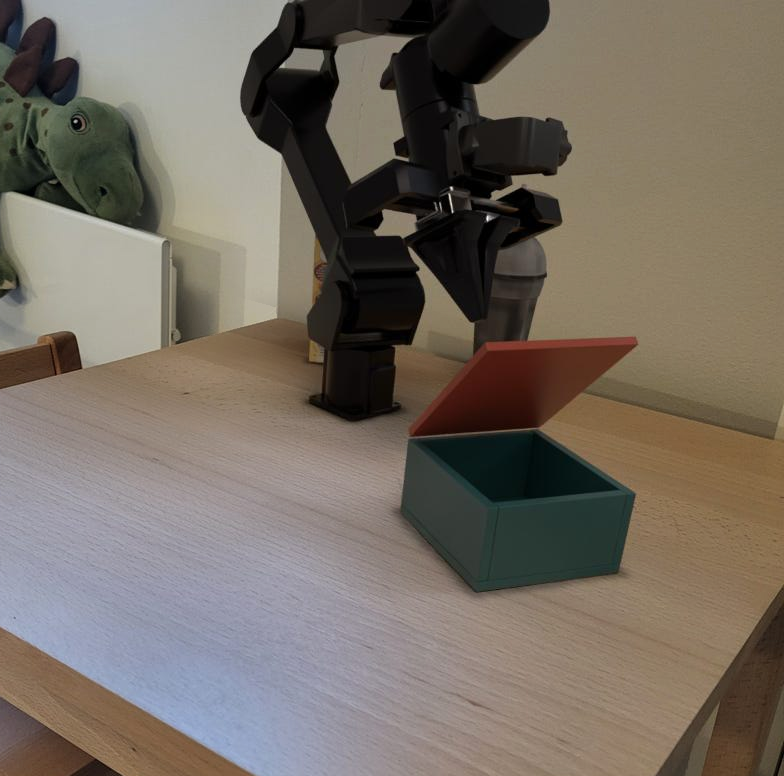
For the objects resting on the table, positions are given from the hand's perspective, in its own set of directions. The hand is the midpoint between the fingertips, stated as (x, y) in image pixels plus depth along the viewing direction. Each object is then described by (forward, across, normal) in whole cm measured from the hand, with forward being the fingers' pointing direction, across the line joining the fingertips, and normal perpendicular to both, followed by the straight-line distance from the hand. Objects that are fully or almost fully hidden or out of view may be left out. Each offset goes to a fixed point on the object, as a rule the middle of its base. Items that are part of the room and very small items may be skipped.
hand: (478, 321), depth 67 cm
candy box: (-6, +16, +32) cm, 36 cm away
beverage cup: (0, +24, +17) cm, 30 cm away
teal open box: (+16, -4, -1) cm, 16 cm away
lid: (+7, -5, -5) cm, 10 cm away
